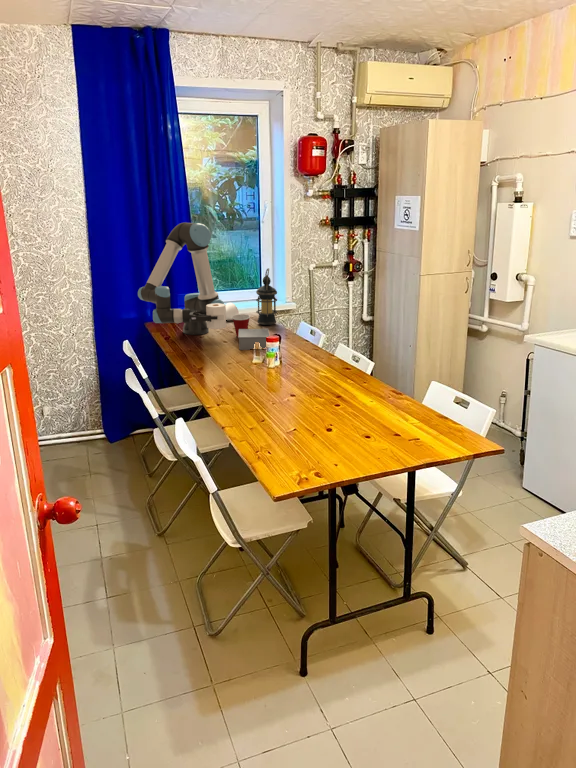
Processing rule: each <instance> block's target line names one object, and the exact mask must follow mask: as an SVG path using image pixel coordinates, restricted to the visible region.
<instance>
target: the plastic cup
mask: <svg viewBox="0 0 576 768" xmlns="http://www.w3.org/2000/svg"><path fill="white" fill-rule="evenodd" d="M232 319H233V320H232V321H233V327H234V331H235V336H236V338H238V336H239V329H249V323H250V319H251V315H250V314H247V313H246V314H243V313H239V314H238V315H234V316H232Z"/></svg>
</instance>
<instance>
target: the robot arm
mask: <svg viewBox="0 0 576 768" xmlns="http://www.w3.org/2000/svg"><path fill="white" fill-rule="evenodd" d="M211 239H212V234H211V231H210V229H209V228H208V226H206V224H203V223H200V222H197V223H195V222H187V221H185V222H181V223H178V224H177V225H176V226H174V228H173V229H172V230H171V231H170V233H169V235H168V236H167V237H166V239H165V243H166V244H165V246H164V248H163V250H162V252H161V254H160V255H159V258H158V259H157V262H156V263H155V266H154V267H153V270H152V271H151V273H150V275H149V277H148V279H147V281H146V283H145V285H144V286H142V287H139V289H138V291H137V297H138V298H139V300H141V301H144V302H148V303H152V304H155V306H156V307H155V308H154V309H152V310H153V311H152V320H153V323H155V324H177V325H178V324H179V323H180V324H181V323H184V324H183V327H182V333H183V334H185V335H191V336H192V335H193V336H195V335H197V336H198V335H204V334H207V333H209V332H210V330H209V328H207V321H210V322H211V319H212V320H224V315H206V305H208V304H213V303H220V304H225V303H224V301H223V300H222V299H220V296H219V293H218V292H217V291H215V286H214V281H213V276H212V271H211V265H210V260H209V256H208V255H209V254H208V249H209V247H210V246H209V244H210V243H211ZM185 245H186V249H187V251H188V252H189V253H191V259H192V264H193V268H194V273H195V277H196V282H197V283H196V284H197V286H198V292H193V293H187V294H185V296H184V303H183V304H184V308H183V309H182V308H171V307H172V306H171V293H170V288H169V286H165V285H164V286H163V285H162V284H163V283H164V280H165V279H166V277H167V275H168V273H169V271H170V269H171V267H172V265H173V264H174V261H175V259H176V257H177V255H178V253H179V252H180V251H181V250H182V249H183V248H184V246H185Z"/></svg>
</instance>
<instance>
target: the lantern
mask: <svg viewBox="0 0 576 768" xmlns="http://www.w3.org/2000/svg"><path fill="white" fill-rule="evenodd" d="M269 274H270V268H266V270H265V274H264V276H263V278H262V284H263V285H261V286H260V287H259V288H257V290H256V292H255V293H256V294H257V298H256V299H255V301H256V302H257V310H256V313H257V314H258V318H257V324H259V325H261V326H272V325H275V324H276V323H277V320H276V314H277V313H278V311H277V310H276V309H277V308H276V306H277V304H276V303H277V301H278V299H277V298H276V296H275V295H277V294H278V291H277V289H276V288H274V287H273V286H271V285H270V284H271V282H272V281H271V278H270V276H269ZM260 303H261V305H260ZM260 307H261V308H260Z"/></svg>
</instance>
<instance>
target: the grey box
mask: <svg viewBox="0 0 576 768" xmlns="http://www.w3.org/2000/svg"><path fill="white" fill-rule="evenodd" d="M268 336H270V331H269V328H248V329H239V336H238V337H237V338H238V347H239V348H238V349H239V350H240V351H246V350H247V351H251V350H250V349H253V348H254V344H255V342H259V343H260V346H261V347H262V348H265V347H266V337H268Z"/></svg>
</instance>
